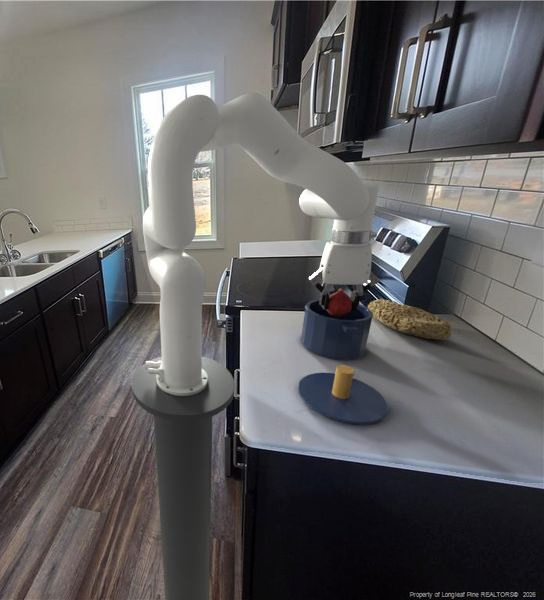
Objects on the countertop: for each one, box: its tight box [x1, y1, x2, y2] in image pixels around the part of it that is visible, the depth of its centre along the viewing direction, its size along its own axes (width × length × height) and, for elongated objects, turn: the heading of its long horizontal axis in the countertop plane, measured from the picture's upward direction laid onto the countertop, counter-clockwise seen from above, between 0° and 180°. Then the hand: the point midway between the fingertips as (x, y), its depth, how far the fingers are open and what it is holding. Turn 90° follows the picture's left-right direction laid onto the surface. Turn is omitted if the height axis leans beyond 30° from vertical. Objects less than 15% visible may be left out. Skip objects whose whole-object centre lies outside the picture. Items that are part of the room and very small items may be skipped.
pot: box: [300, 298, 373, 361], centre depth 83 cm, size 15×20×10 cm
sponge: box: [367, 298, 452, 341], centre depth 89 cm, size 13×8×20 cm
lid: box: [297, 364, 389, 425], centre depth 64 cm, size 16×16×7 cm
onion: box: [326, 287, 352, 318], centre depth 80 cm, size 6×6×8 cm
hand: (337, 307), depth 81 cm, fingers closed on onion, 5 cm apart
